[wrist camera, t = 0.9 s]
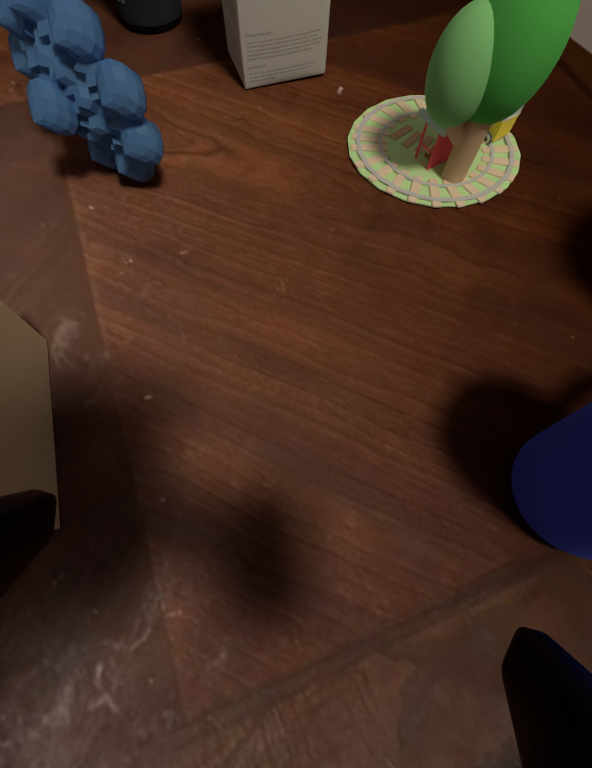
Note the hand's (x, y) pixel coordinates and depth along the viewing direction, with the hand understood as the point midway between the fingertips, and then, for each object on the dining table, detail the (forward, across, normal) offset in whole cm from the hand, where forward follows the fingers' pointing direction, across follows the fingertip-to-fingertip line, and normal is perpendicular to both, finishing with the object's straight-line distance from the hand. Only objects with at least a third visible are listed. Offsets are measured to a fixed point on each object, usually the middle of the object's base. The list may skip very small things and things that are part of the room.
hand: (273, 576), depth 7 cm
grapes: (+26, +21, -11) cm, 35 cm away
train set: (+32, -4, -19) cm, 37 cm away
